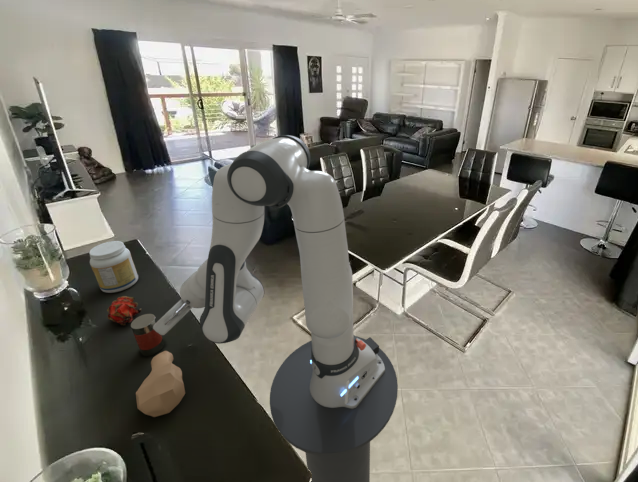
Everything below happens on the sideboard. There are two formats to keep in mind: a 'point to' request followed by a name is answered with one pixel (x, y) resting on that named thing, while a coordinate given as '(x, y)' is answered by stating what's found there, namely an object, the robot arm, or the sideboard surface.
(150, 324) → the tin
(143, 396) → the squash
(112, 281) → the supplement tub
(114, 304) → the dragon fruit
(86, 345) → the sideboard surface
